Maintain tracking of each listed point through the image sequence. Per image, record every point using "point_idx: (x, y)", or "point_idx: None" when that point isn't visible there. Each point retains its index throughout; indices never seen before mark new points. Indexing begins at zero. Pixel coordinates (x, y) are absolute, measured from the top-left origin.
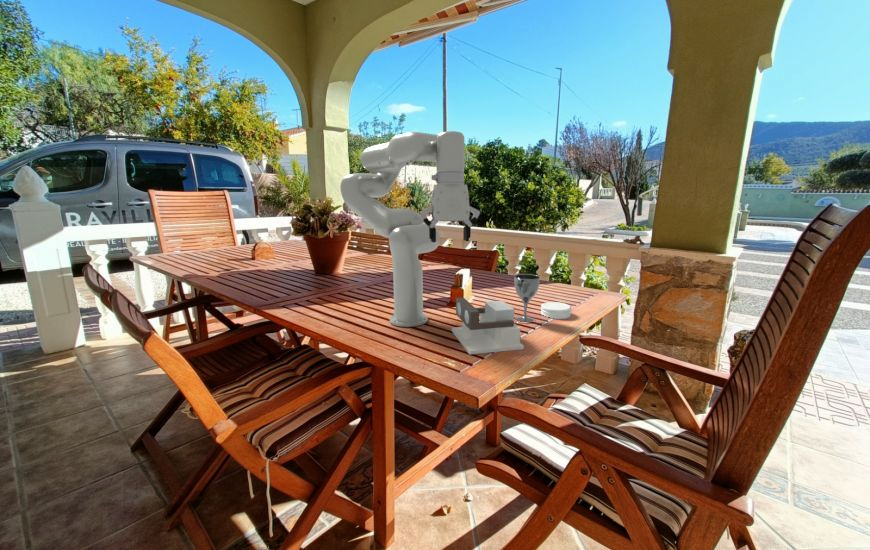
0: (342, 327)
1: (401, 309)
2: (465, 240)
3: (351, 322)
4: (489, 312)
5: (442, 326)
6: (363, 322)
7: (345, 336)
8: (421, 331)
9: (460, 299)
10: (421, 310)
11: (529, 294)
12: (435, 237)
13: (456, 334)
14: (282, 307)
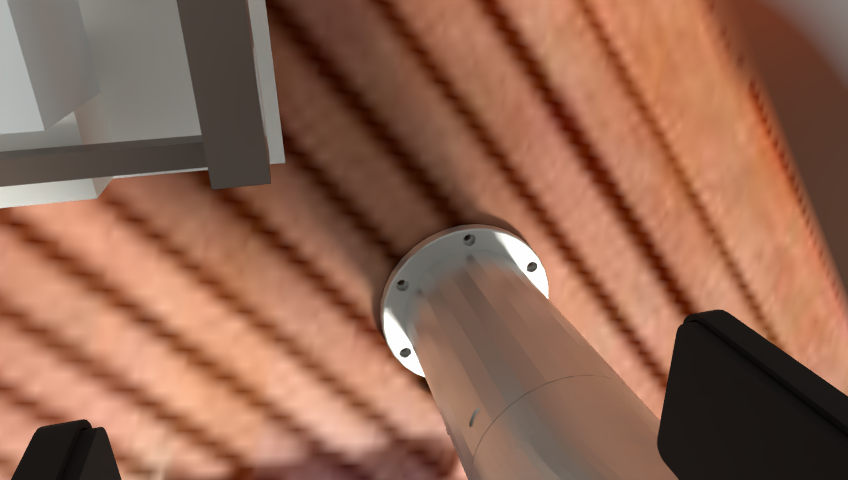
0: (715, 251)
1: (532, 285)
2: (116, 470)
3: (676, 301)
4: (34, 25)
5: (321, 222)
6: (636, 298)
7: (724, 155)
8: (430, 169)
9: (243, 146)
10: (427, 305)
11: None
12: (741, 358)
13: (273, 67)
14: None
